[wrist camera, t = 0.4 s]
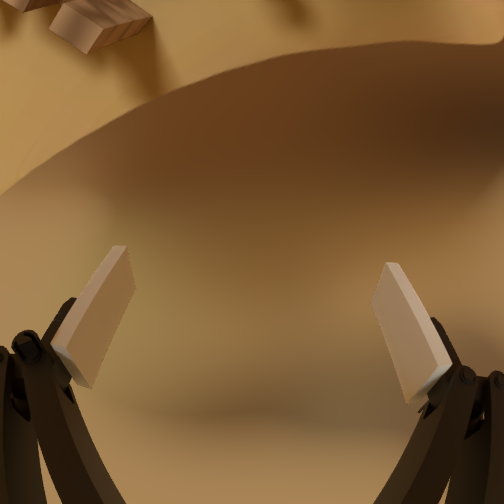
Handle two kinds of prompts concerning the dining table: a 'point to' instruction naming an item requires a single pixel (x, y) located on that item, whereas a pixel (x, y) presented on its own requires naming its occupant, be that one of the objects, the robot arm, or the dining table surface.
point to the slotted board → (91, 20)
